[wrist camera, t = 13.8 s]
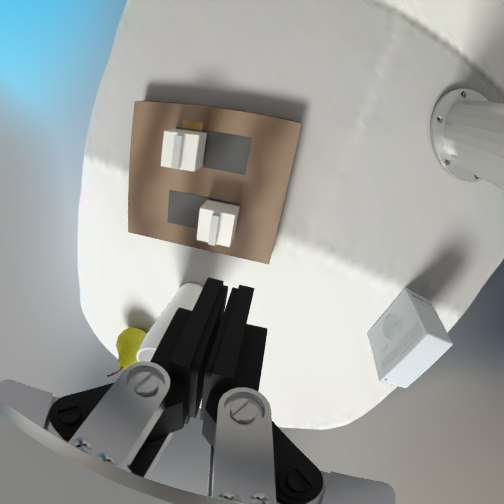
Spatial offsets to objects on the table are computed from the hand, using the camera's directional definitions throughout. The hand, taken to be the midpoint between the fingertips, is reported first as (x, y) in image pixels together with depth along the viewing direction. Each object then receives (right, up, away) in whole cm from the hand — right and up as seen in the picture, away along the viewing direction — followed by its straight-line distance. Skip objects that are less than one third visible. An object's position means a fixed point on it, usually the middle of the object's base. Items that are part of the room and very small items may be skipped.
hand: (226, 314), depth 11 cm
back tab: (-3, +6, +25) cm, 26 cm away
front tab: (-6, +14, +21) cm, 26 cm away
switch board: (-5, +12, +25) cm, 28 cm away
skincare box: (+25, -8, +32) cm, 41 cm away
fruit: (-20, -13, +41) cm, 48 cm away
